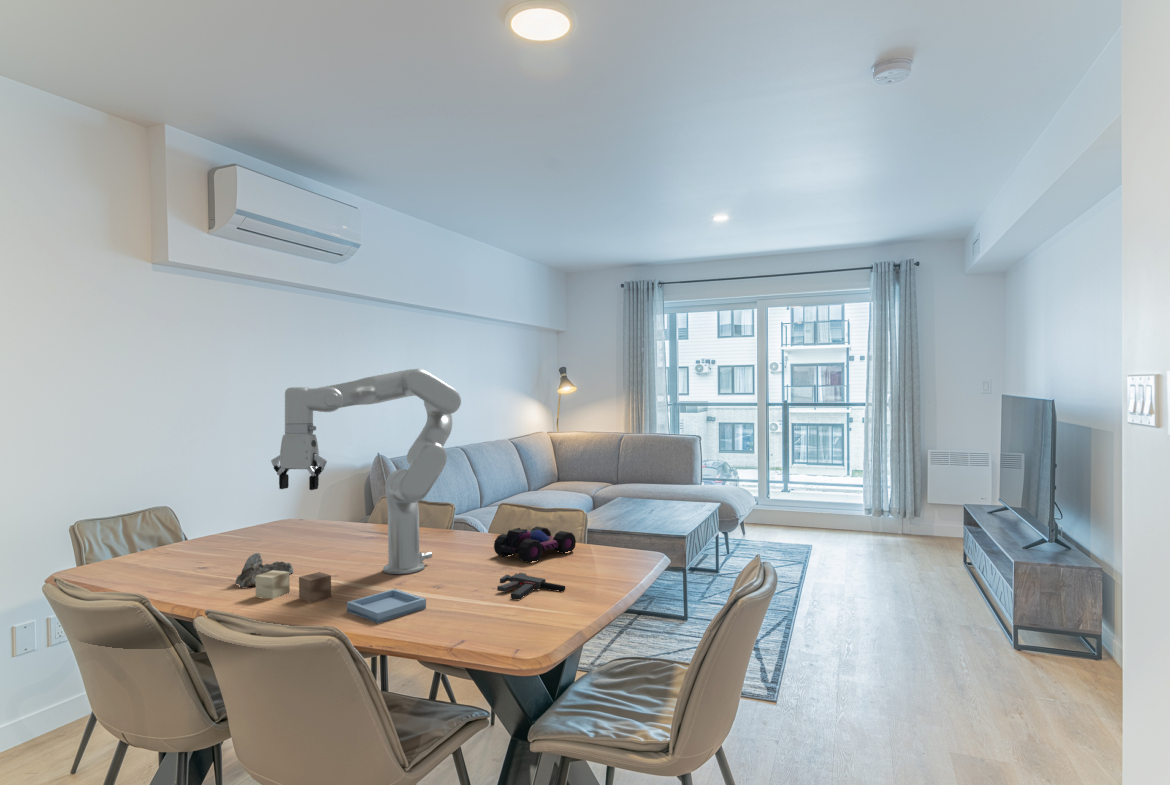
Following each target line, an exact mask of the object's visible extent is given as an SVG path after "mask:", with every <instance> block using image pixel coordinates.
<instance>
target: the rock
mask: <svg viewBox="0 0 1170 785" xmlns="http://www.w3.org/2000/svg"><path fill="white" fill-rule="evenodd" d="M272 570H275V571H285V572H289V574H290V575H291V573H292V574H294V568H293V565H292V563H290V562H284V561H277V560H276V561H274V562H272V563H271V564H269V563H266V564H265V563H264V564H263V558H262V555H261V553H260V552H255V553H252V555H250V556H249V557H248V558H247V560H246V562H245V563H244V566H243V568H242V570H241V573H240V574H239V575H237V577H236V579H235V582H234V584H235V583H236V584H239V585H240V587H248V588H250V587H249V586H256V576H257V575H260V574H263V573H266V572H269V571H272Z"/></svg>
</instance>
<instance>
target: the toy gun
mask: <svg viewBox="0 0 1170 785" xmlns="http://www.w3.org/2000/svg"><path fill="white" fill-rule="evenodd" d="M546 580H547V579H545V578H542V577H536V576H531V575H527V573H525V572H519V573H515V574H513V575H510V574H505V575H504V576H502V577H501V578H499V585H497V591H498V592H503V593H506V592H509V591H512V590H513V592H510V599H511V598H512V599H511V600H514V599H520V600H522V599H523V598H524V597H523V596H525V595H526V594H528V593H529V592H530V593H532V592H533V591H532V590H533V589H540V588H542V589H544V590H548V589H551V590H550V591H554V590H559V591H558V592H561V591H563V590H565V591H566V585H562V584H557V583H551V582H546ZM506 582H507V583H506ZM500 584H501V585H500ZM531 591H532V592H531ZM563 592H564V591H563ZM530 593H529V594H530ZM529 594H528V595H529ZM526 596H527V595H526ZM526 596H525V597H526ZM522 597H523V598H522ZM521 598H522V599H521Z"/></svg>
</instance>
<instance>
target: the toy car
mask: <svg viewBox="0 0 1170 785" xmlns="http://www.w3.org/2000/svg"><path fill="white" fill-rule="evenodd" d="M493 543H494V544H493V549H494V552H495V553H496V554H497V556H500V555H502V556H501V557H504V556H508V555H512V554H514V555H518V556H517V557H518V558H519V559H520V560H521V561H522V560H523V561H522V562H524V561H527V562H526V563H528V562H532V561H537V560H539V561H540V560H541V558H542V556H543V552H547V551H549V550H554V551H555V552H556V551H559V552H563V553H562V554H564V553H565V552H568V551H572V550H573V551H574V549H575V548H576V544H577V541H576V536H575V534H573V533H572V532H568V531H564V530H559V531H558V532H556V533H555V534H554V535H553V536H552V533H551V531H550V530H549V529H548V528H547V527H542V526H538V525H537V526H534V527H533V528H532V529H531V530H528V528H526V529H524V528H520V527H518V528H517V527H516V528H513V529H509V530H508V532H507V534H506V533H501V534H499V535H497V537H496V538H495V540H494V542H493ZM573 551H572V552H573ZM559 552H558V553H559ZM537 562H538V561H537Z"/></svg>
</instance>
